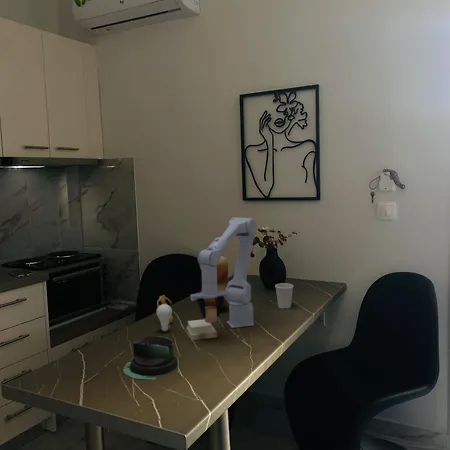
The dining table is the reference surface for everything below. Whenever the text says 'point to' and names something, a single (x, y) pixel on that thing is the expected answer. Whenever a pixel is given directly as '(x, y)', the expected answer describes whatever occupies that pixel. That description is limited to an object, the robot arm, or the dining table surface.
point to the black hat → (152, 358)
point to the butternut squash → (220, 281)
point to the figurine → (162, 299)
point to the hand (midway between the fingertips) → (210, 316)
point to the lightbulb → (164, 315)
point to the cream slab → (199, 326)
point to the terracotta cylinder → (211, 314)
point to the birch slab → (202, 334)
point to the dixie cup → (284, 294)
